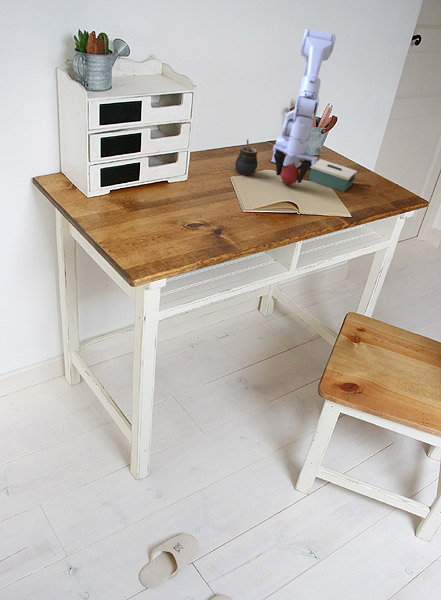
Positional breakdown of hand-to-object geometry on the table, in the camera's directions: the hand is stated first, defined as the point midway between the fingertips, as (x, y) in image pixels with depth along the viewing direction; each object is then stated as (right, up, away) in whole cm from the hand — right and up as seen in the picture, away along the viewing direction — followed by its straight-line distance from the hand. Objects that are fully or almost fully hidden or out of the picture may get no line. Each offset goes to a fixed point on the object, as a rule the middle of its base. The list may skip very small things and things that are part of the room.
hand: (288, 178), depth 180 cm
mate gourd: (-14, +3, +5) cm, 15 cm away
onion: (0, -2, +1) cm, 3 cm away
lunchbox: (+15, +1, +11) cm, 19 cm away
